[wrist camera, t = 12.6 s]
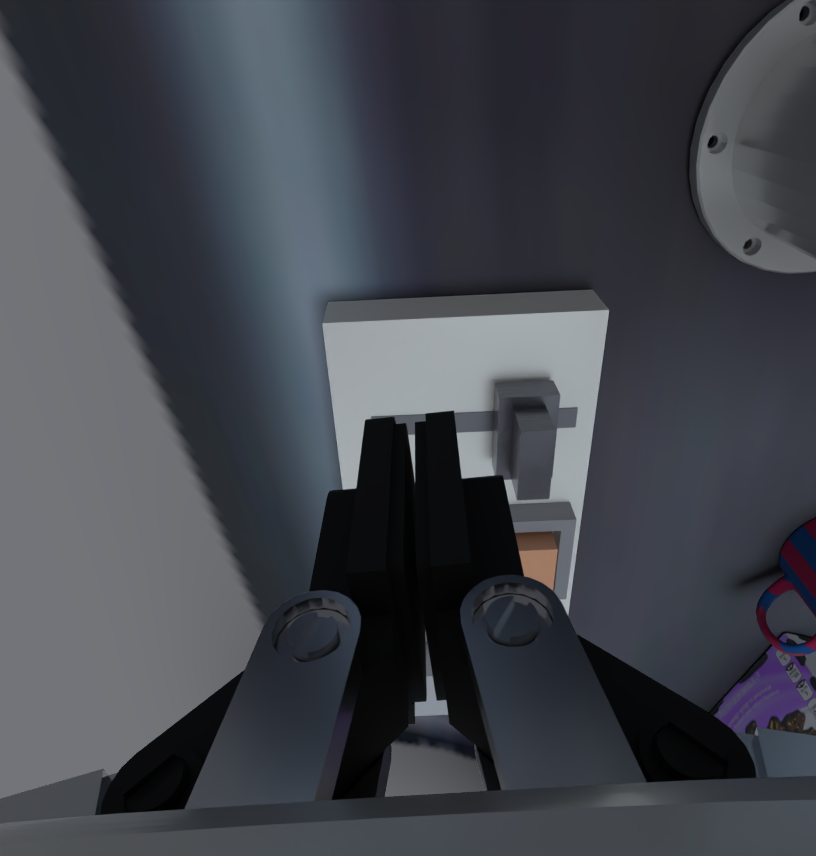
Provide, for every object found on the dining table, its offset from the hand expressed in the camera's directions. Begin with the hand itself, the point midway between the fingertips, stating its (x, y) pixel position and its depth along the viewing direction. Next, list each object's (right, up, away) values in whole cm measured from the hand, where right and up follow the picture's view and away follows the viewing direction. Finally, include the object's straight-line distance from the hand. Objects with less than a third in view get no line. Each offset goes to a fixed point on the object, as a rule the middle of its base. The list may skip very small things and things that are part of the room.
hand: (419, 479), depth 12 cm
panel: (+3, -5, +29) cm, 29 cm away
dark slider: (+6, +1, +21) cm, 22 cm away
